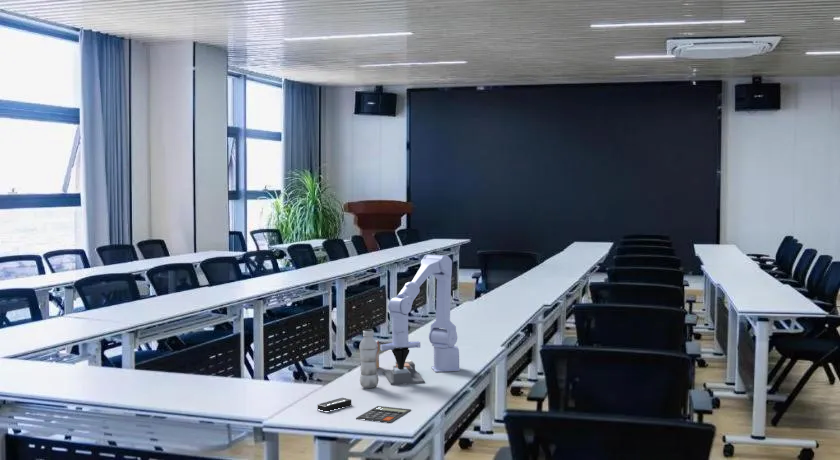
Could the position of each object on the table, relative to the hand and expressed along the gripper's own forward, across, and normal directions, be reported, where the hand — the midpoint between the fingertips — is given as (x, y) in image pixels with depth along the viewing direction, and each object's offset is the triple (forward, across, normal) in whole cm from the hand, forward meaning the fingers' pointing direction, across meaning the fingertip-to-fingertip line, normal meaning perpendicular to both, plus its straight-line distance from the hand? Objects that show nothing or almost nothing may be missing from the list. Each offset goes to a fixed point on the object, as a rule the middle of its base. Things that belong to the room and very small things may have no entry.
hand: (400, 369), depth 298 cm
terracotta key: (+2, -3, -7) cm, 8 cm away
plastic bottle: (+5, +13, +3) cm, 14 cm away
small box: (+5, +4, -25) cm, 26 cm away
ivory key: (+2, -6, -13) cm, 15 cm away
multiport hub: (+5, +31, +24) cm, 39 cm away
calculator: (+6, +19, +37) cm, 42 cm away
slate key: (+2, 0, 0) cm, 2 cm away
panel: (+5, -3, -7) cm, 9 cm away
